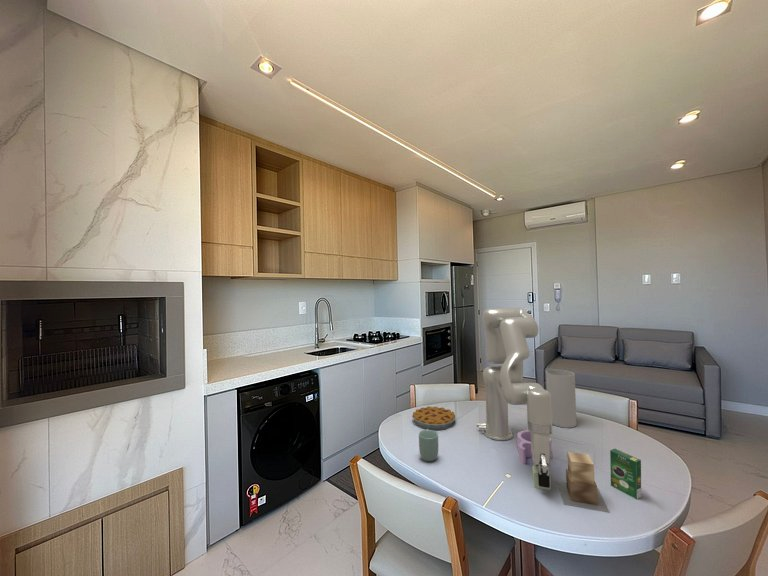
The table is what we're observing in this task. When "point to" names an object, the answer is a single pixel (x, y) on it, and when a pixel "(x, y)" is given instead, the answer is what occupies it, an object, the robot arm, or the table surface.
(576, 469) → the brick oak
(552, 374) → the cylinder vase
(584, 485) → the brick walnut
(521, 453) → the clip
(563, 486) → the base tile
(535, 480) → the brick sage
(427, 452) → the cup
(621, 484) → the coffee box
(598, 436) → the table surface
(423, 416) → the pie
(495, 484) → the table surface
